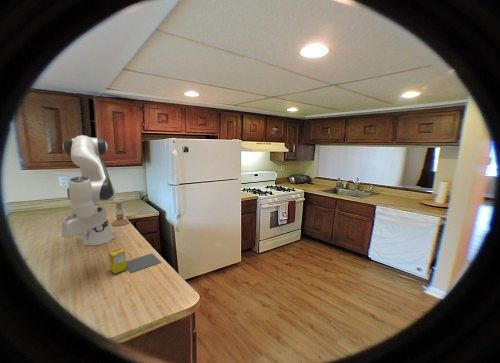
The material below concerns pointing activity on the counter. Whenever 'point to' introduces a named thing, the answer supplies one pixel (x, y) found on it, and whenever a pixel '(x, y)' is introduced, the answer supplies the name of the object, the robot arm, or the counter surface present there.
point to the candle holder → (119, 213)
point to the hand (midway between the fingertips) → (86, 239)
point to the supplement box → (117, 261)
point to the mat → (142, 263)
